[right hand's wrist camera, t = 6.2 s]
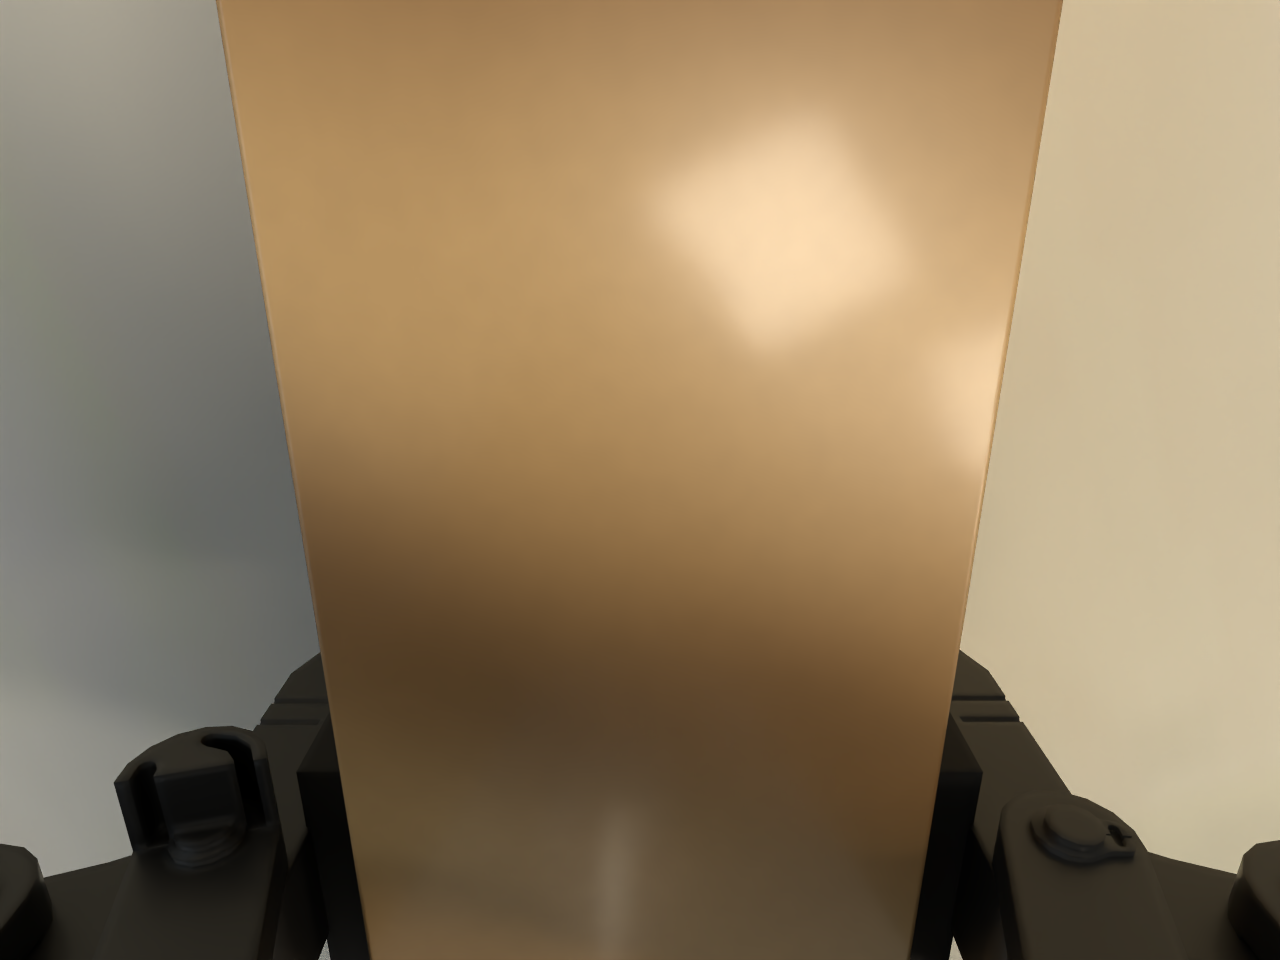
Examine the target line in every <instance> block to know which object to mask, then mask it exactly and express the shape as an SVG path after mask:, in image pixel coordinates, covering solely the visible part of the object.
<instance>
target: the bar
mask: <svg viewBox="0 0 1280 960" xmlns="http://www.w3.org/2000/svg"><path fill="white" fill-rule="evenodd" d="M216 4H217V10H218V17H219V23H220V29H221V35H222V41H223V48H224V54H225V60H226V66H227V73H228V79H229V85H230V91H231V97H232V104H233V110H234V116H235V122H236V129H237V135H238V141H239V147H240V154H241V160H242V166H243V172H244V178H245V185H246V191H247V197H248V203H249V210H250V216H251V222H252V228H253V234H254V241H255V247H256V253H257V259H258V266H259V272H260V278H261V284H262V290H263V297H264V303H265V309H266V315H267V322H268V328H269V334H270V340H271V347H272V353H273V359H274V365H275V371H276V378H277V384H278V390H279V396H280V403H281V409H282V415H283V421H284V427H285V434H286V440H287V446H288V452H289V459H290V465H291V471H292V477H293V483H294V490H295V496H296V502H297V508H298V515H299V521H300V527H301V533H302V539H303V546H304V552H305V558H306V564H307V571H308V577H309V583H310V589H311V596H312V602H313V608H314V614H315V620H316V627H317V633H318V639H319V645H320V652H321V658H322V664H323V670H324V676H325V683H326V689H327V695H328V701H329V708H330V714H331V720H332V726H333V732H334V739H335V745H336V751H337V757H338V764H339V770H340V776H341V782H342V788H343V795H344V801H345V807H346V813H347V820H348V826H349V832H350V838H351V845H352V851H353V857H354V863H355V869H356V876H357V882H358V888H359V894H360V901H361V907H362V913H363V919H364V925H365V932H366V938H367V944H368V950H369V957H370V960H910V954H911V948H912V942H913V935H914V929H915V923H916V917H917V910H918V904H919V898H920V892H921V885H922V879H923V873H924V867H925V860H926V854H927V848H928V842H929V835H930V829H931V823H932V817H933V810H934V804H935V798H936V792H937V785H938V779H939V773H940V767H941V760H942V754H943V748H944V742H945V735H946V729H947V723H948V717H949V710H950V704H951V698H952V692H953V685H954V679H955V673H956V667H957V660H958V654H959V648H960V642H961V635H962V629H963V623H964V616H965V610H966V604H967V598H968V591H969V585H970V579H971V573H972V566H973V560H974V554H975V548H976V541H977V535H978V529H979V523H980V516H981V510H982V504H983V498H984V491H985V485H986V479H987V473H988V466H989V460H990V454H991V448H992V441H993V435H994V429H995V423H996V416H997V410H998V404H999V398H1000V391H1001V385H1002V379H1003V373H1004V366H1005V360H1006V354H1007V348H1008V341H1009V335H1010V329H1011V323H1012V316H1013V310H1014V304H1015V298H1016V291H1017V285H1018V279H1019V273H1020V266H1021V260H1022V254H1023V248H1024V241H1025V235H1026V229H1027V223H1028V216H1029V210H1030V204H1031V197H1032V191H1033V185H1034V179H1035V172H1036V166H1037V160H1038V154H1039V147H1040V141H1041V135H1042V129H1043V122H1044V116H1045V110H1046V104H1047V97H1048V91H1049V85H1050V79H1051V72H1052V66H1053V60H1054V54H1055V47H1056V41H1057V35H1058V29H1059V22H1060V16H1061V10H1062V4H1063V0H216Z"/></svg>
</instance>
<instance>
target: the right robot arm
mask: <svg viewBox="0 0 1280 960" xmlns="http://www.w3.org/2000/svg"><path fill="white" fill-rule="evenodd" d="M114 786H115V789H116V793H117V796H118V800H119V803H120V807H121V810H122V814H123V817H124V821H125V824H126V828H127V831H128V835H129V839H130V842H131V846H132V849H133V853H132V855H131V856H128V857H125V858H121V859H118V860H115V861H112V862H108V863H104V864H100V865H96V866H91V867H87V868H83V869H79V870H74V871H70V872H66V873H62V874H57V875H53V876H49V877H45V878H43V875H42V872H41V869H40V866H39V863H38V860H37V858H36V857H35V856H33V855H32V854H31V853H30V852H29V851H28V850H27V849H25V848H24V847H18V846H12V845H5V844H0V960H318V959H319V956H320V954H321V951H322V949H323V946H324V944H325V941H326V939H327V943H328V948H329V953H330V959H331V960H370V957H369V950H368V944H367V938H366V932H365V925H364V919H363V913H362V907H361V901H360V894H359V888H358V882H357V876H356V869H355V863H354V857H353V851H352V845H351V838H350V832H349V826H348V820H347V813H346V807H345V801H344V795H343V788H342V782H341V776H340V770H339V764H338V757H337V751H336V745H335V739H334V732H333V726H332V720H331V714H330V708H329V701H328V695H327V689H326V683H325V676H324V670H323V664H322V658H321V652H320V653H319V654H317V655H316V656H315V657H313V658H312V659H311V660H309V661H308V662H306V663H305V664H304V665H302V666H301V667H300V668H298V669H297V670H296V671H294V672H293V673H291V675H290V676H289V678H288V679H287V681H286V682H285V684H284V685H283V687H282V688H281V690H280V691H279V693H278V694H277V696H276V697H275V703H274V704H271V705H270V706H269V708H268V709H267V711H266V712H265V714H264V715H263V717H262V718H261V724H260V725H257V726H256V727H255V729H254V730H253V731H250V730H246V729H242V728H238V727H234V726H221V727H205V728H201V729H197V730H193V731H189V732H185V733H181V734H177V735H175V736H173V737H171V738H169V739H166V740H164V741H162V742H160V743H158V744H156V745H154V746H151V747H150V748H148V749H147V750H146V751H144V752H143V753H142V754H140V755H139V756H138V757H136V758H135V759H133V760H132V761H131V762H129V763H128V764H127V765H126V767H125V768H124V769H123V771H122V772H121V773H120V775H119V776H118V778H117V779H116V780H115V782H114ZM953 936H954V939H955V941H956V944H957V946H958V949H959V951H960V954H961V956H962V959H963V960H1280V840H1278V841H1271V842H1265V843H1258V844H1256V845H1254V846H1253V847H1252V848H1251V849H1250V850H1249V851H1247V852H1246V853H1245V854H1244V855H1243V858H1242V861H1241V864H1240V867H1239V870H1238V873H1237V874H1233V873H1229V872H1225V871H1220V870H1216V869H1212V868H1208V867H1203V866H1199V865H1195V864H1191V863H1186V862H1182V861H1178V860H1174V859H1170V858H1166V857H1163V856H1160V855H1157V854H1153V853H1150V852H1147V850H1146V848H1145V847H1144V845H1143V843H1142V842H1141V840H1140V839H1139V837H1138V836H1137V834H1136V833H1135V831H1134V830H1133V829H1132V828H1131V827H1129V826H1128V825H1127V824H1126V823H1125V822H1124V821H1122V820H1121V819H1120V818H1119V817H1118V816H1116V815H1115V814H1114V813H1113V812H1111V811H1109V810H1107V809H1105V808H1103V807H1101V806H1099V805H1098V804H1096V803H1094V802H1092V801H1090V800H1088V799H1085V798H1082V797H1078V796H1075V795H1072V794H1071V793H1070V791H1069V790H1068V788H1067V787H1066V785H1065V784H1064V782H1063V781H1062V780H1061V778H1060V777H1059V775H1058V774H1057V772H1056V771H1055V769H1054V768H1053V766H1052V765H1051V763H1050V762H1049V760H1048V759H1047V757H1046V756H1045V754H1044V753H1043V751H1042V750H1041V748H1040V747H1039V745H1038V744H1037V742H1036V741H1035V739H1034V738H1033V736H1032V735H1031V733H1030V732H1029V730H1028V729H1027V727H1026V726H1025V725H1024V723H1023V722H1020V721H1019V716H1018V714H1017V713H1016V711H1015V710H1014V708H1013V707H1012V705H1011V704H1010V702H1009V701H1006V700H1005V695H1004V693H1003V692H1002V690H1001V689H1000V687H999V686H998V684H997V683H996V681H995V680H994V678H993V677H992V675H991V674H990V672H989V671H988V670H987V669H985V668H984V667H983V666H981V665H980V664H978V663H977V662H976V661H974V660H973V659H972V658H970V657H969V656H967V655H966V654H965V653H963V652H962V651H961V650H959V654H958V660H957V667H956V673H955V679H954V685H953V692H952V698H951V704H950V710H949V717H948V723H947V729H946V735H945V742H944V748H943V754H942V760H941V767H940V773H939V779H938V785H937V792H936V798H935V804H934V810H933V817H932V823H931V829H930V835H929V842H928V848H927V854H926V860H925V867H924V873H923V879H922V885H921V892H920V898H919V904H918V910H917V917H916V923H915V929H914V935H913V942H912V948H911V954H910V960H949V956H950V951H951V945H952V940H953Z"/></svg>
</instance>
